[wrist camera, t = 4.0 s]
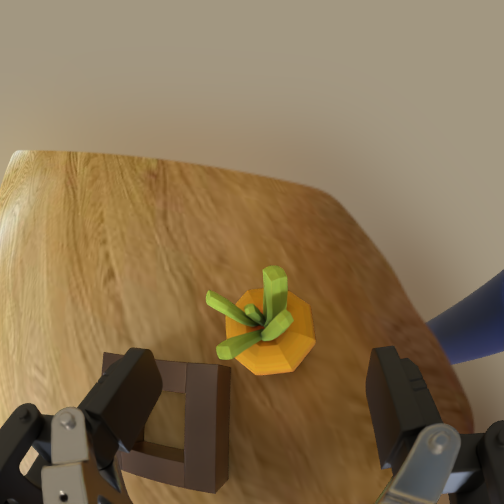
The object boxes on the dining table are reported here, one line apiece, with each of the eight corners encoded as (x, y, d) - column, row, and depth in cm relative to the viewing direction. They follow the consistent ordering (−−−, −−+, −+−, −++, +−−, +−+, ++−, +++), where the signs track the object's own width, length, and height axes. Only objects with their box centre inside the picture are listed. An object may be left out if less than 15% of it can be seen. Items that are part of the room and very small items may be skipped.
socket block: (231, 367, 23) (218, 364, 19) (228, 479, 18) (215, 494, 14) (127, 357, 25) (103, 351, 21) (123, 456, 20) (100, 461, 16)
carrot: (270, 388, 22) (222, 398, 8) (244, 340, 24) (170, 280, 11) (321, 360, 22) (352, 327, 9) (293, 313, 24) (280, 221, 11)
